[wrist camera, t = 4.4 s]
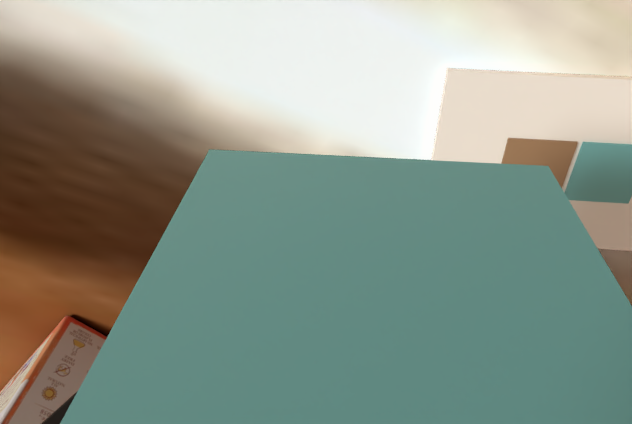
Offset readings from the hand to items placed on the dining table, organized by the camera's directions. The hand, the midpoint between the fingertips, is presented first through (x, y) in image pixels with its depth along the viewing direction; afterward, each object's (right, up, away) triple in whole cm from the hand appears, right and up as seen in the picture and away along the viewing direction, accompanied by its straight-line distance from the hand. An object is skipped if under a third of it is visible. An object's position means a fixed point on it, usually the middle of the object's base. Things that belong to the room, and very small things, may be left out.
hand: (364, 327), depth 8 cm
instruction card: (+9, +4, +11) cm, 14 cm away
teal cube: (0, +1, +1) cm, 1 cm away
